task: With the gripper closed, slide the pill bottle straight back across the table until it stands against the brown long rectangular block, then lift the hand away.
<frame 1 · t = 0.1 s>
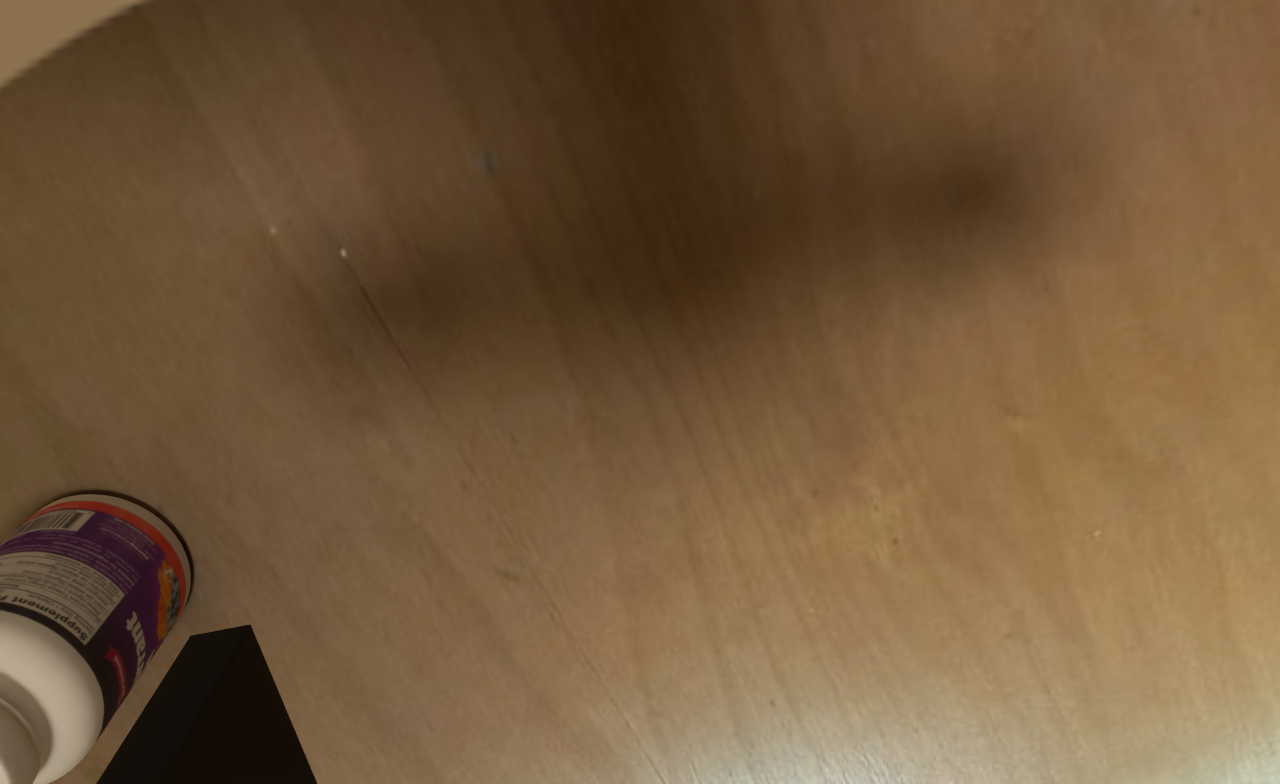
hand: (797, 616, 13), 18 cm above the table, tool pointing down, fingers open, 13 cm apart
pill bottle: (112, 560, 34), on the table
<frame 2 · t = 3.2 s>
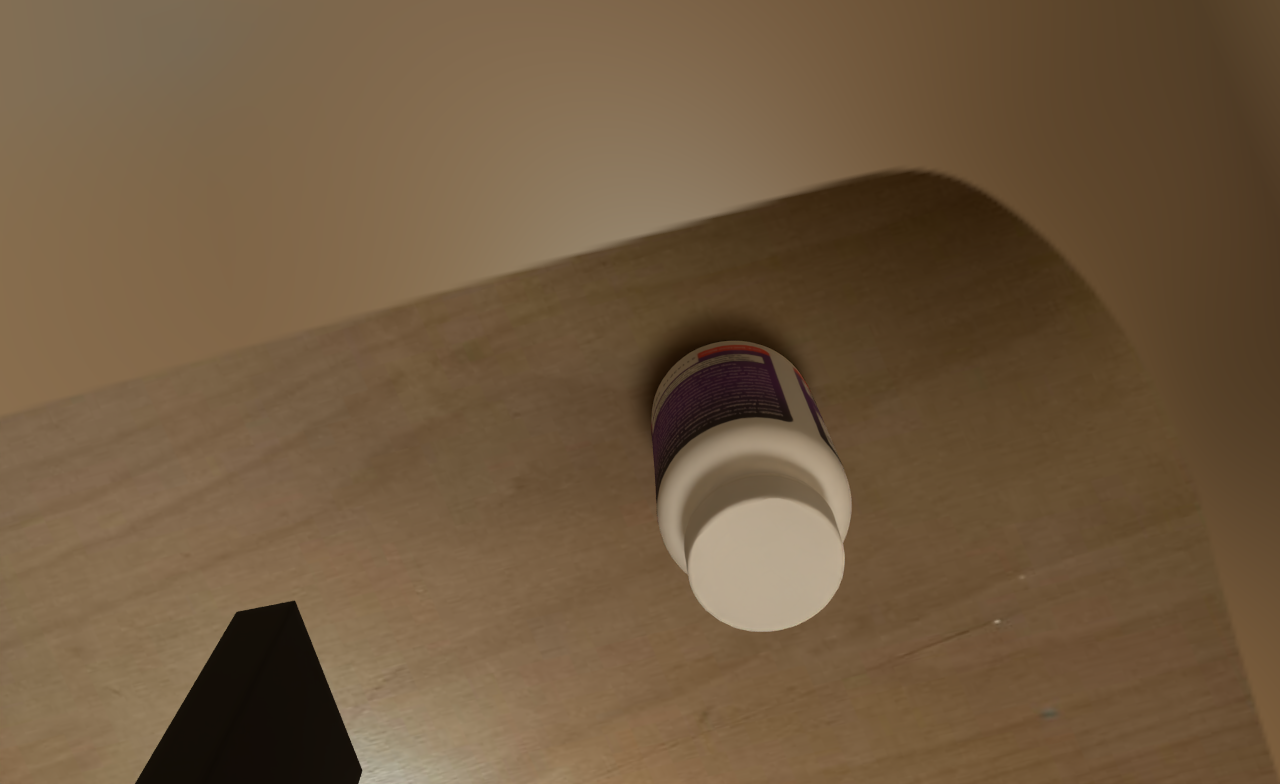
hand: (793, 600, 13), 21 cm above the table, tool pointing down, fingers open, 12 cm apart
pill bottle: (730, 410, 36), on the table
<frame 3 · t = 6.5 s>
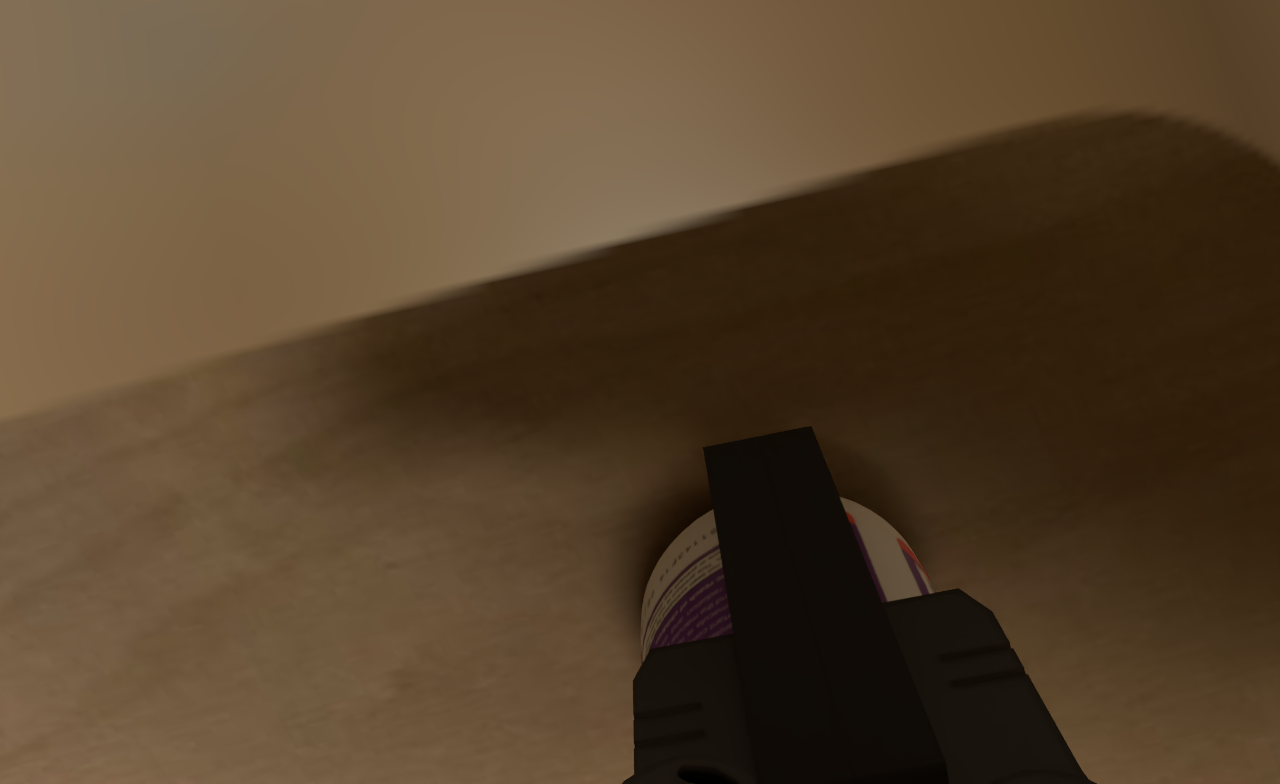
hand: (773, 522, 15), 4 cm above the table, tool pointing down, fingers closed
pill bottle: (780, 600, 20), on the table, touching gripper
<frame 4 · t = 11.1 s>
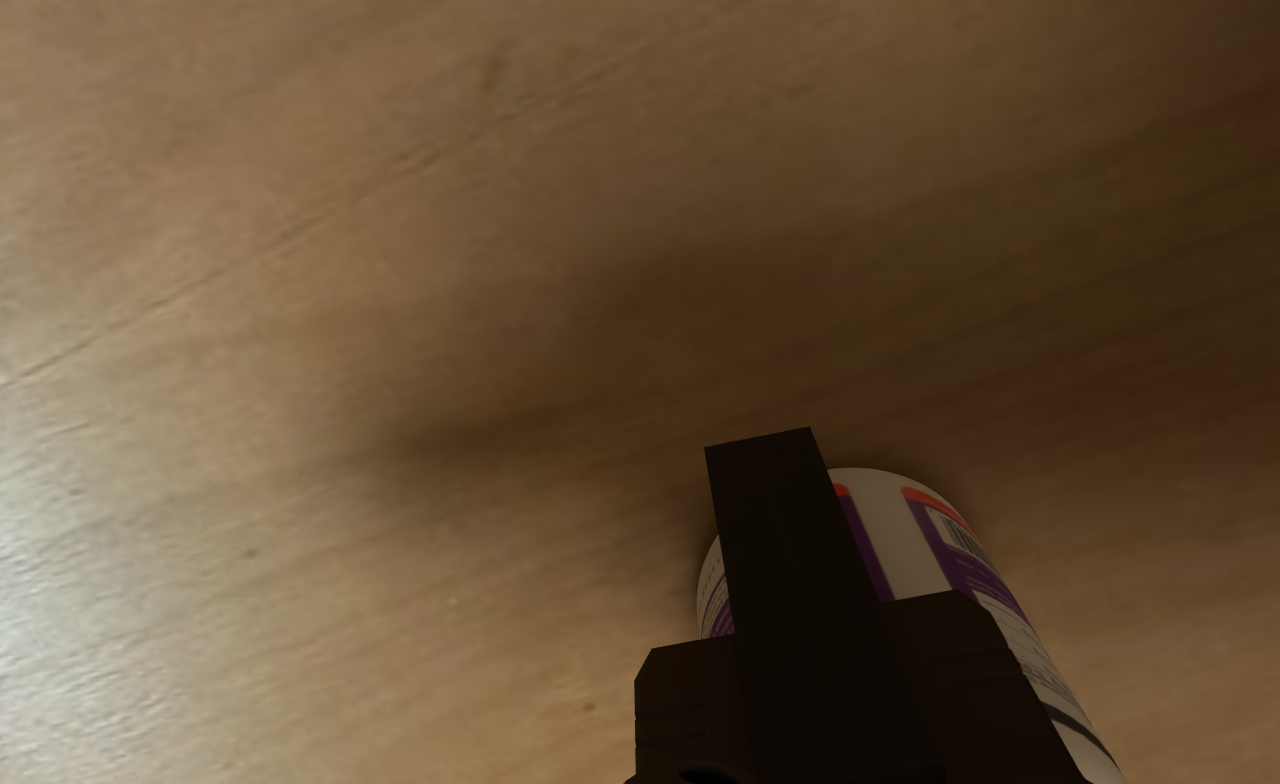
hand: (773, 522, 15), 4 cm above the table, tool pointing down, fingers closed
pill bottle: (834, 578, 20), on the table, touching gripper
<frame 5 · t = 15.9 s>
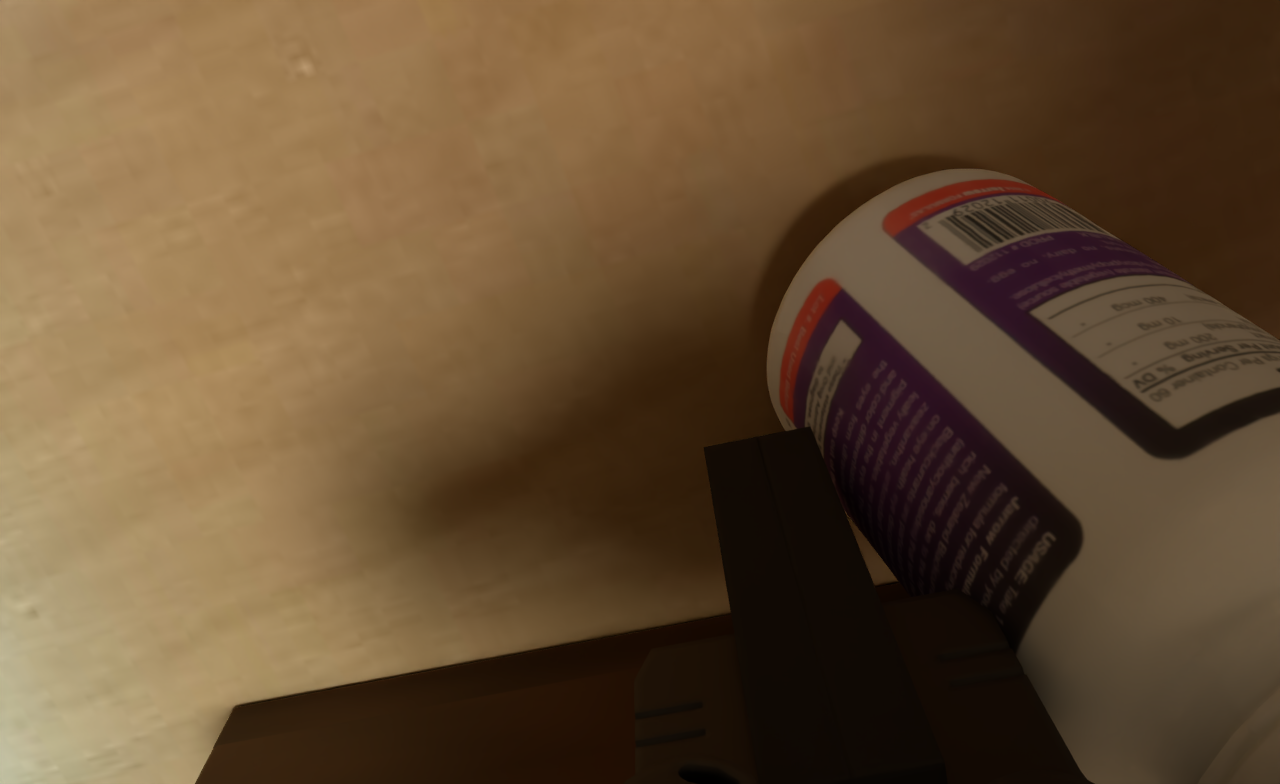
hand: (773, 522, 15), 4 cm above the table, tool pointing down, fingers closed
pill bottle: (905, 311, 17), point 1 cm above the table, touching gripper
brown long rectangular block: (793, 646, 20), on the table
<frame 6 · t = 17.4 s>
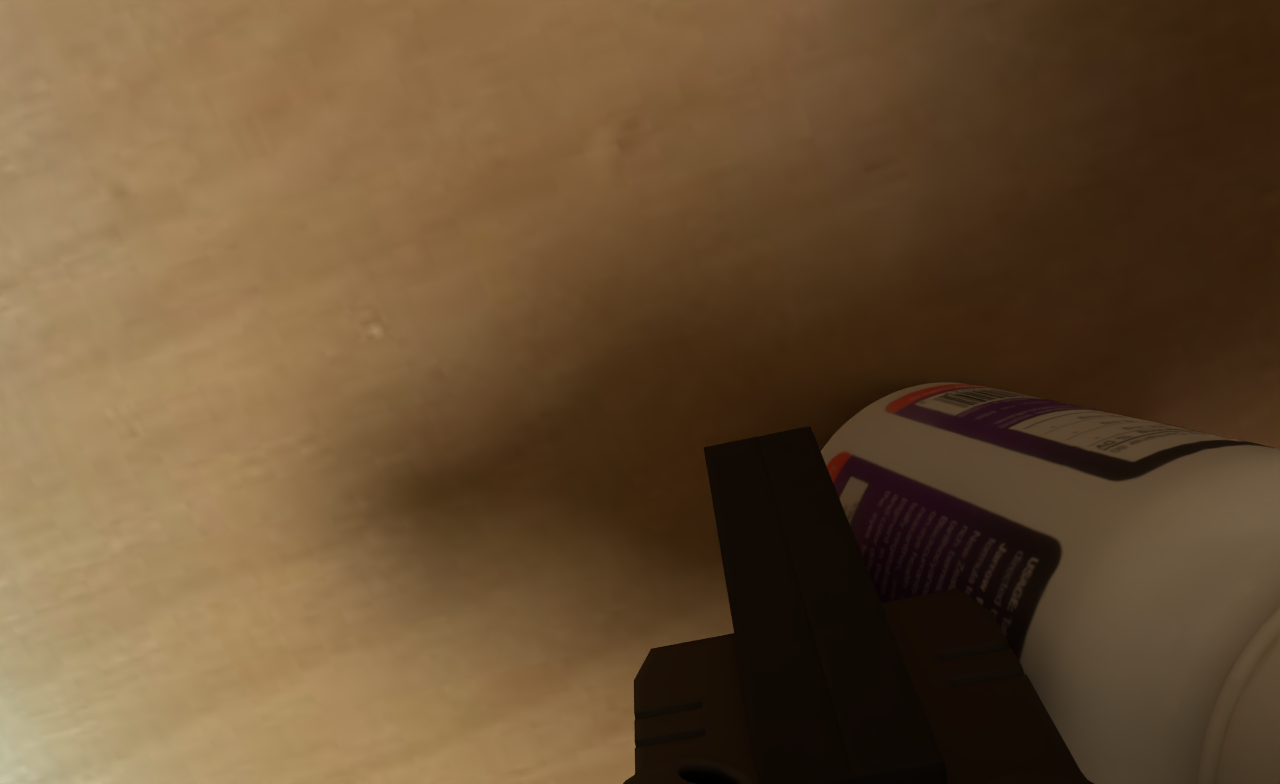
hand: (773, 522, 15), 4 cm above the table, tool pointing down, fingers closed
pill bottle: (919, 528, 19), point 1 cm above the table
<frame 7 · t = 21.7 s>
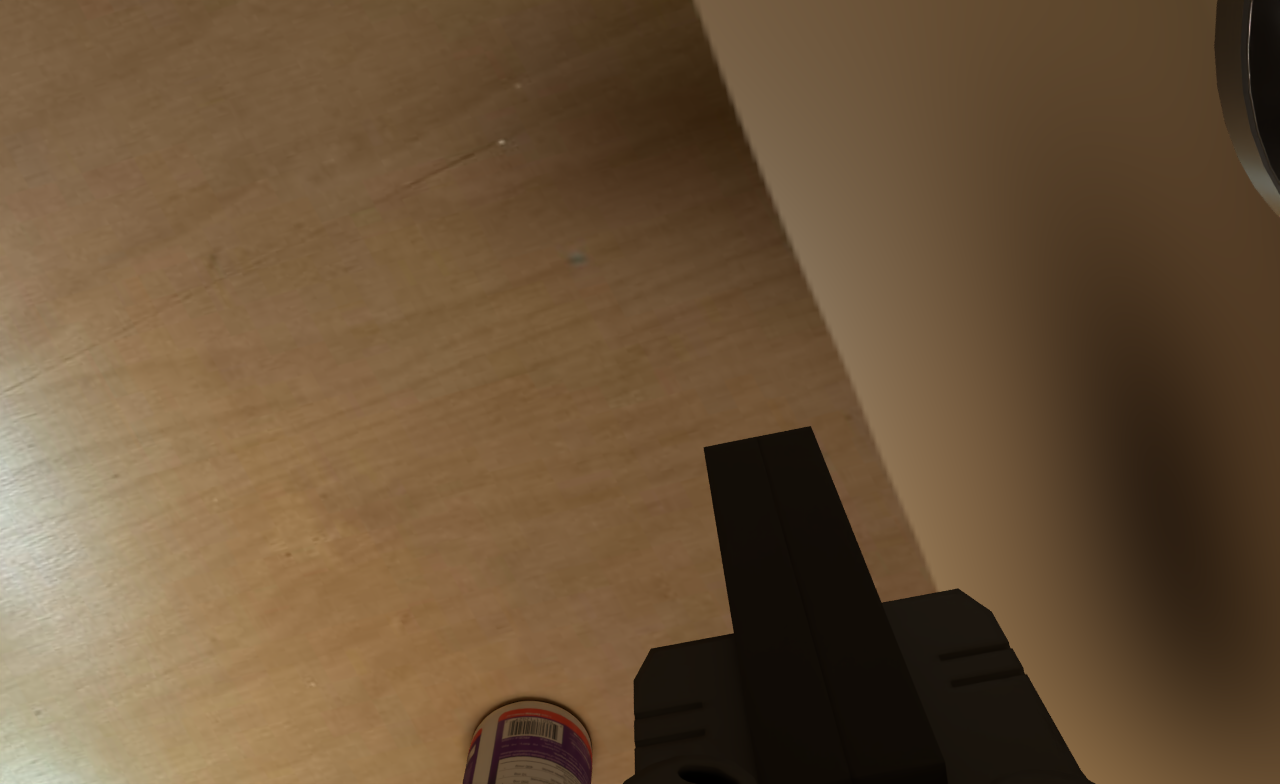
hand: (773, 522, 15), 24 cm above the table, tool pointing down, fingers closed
pill bottle: (533, 743, 47), on the table
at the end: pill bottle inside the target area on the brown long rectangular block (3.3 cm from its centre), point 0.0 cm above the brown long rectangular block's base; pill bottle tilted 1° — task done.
